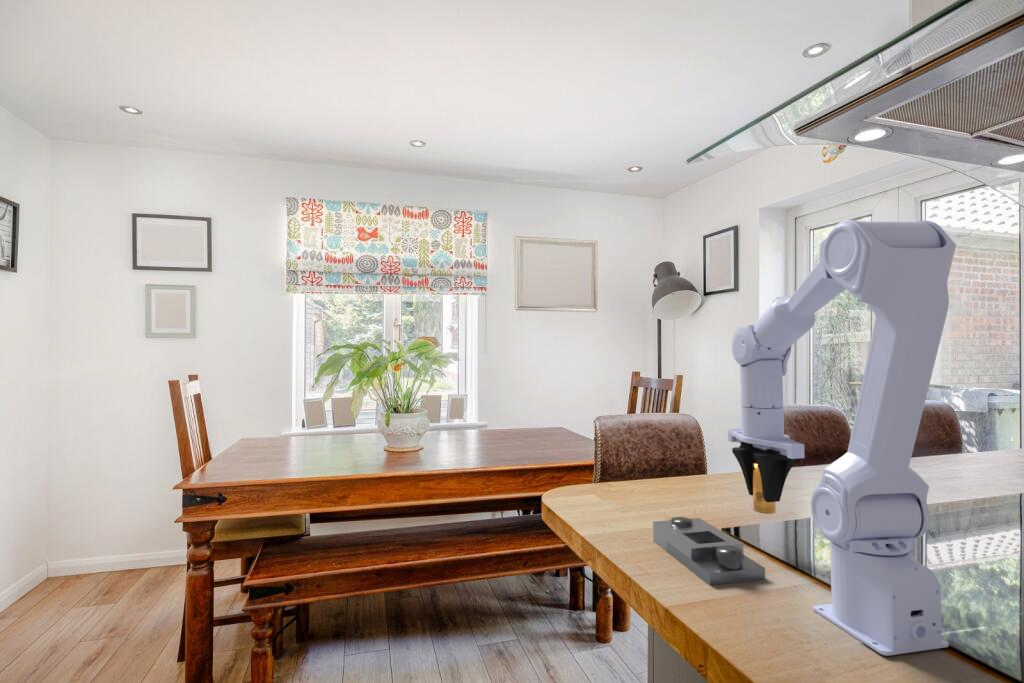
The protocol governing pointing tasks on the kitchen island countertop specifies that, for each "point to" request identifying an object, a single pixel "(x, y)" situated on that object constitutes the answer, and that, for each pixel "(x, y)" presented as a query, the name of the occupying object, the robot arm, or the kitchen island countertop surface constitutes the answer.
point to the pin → (760, 494)
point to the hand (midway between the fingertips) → (764, 497)
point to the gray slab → (706, 551)
